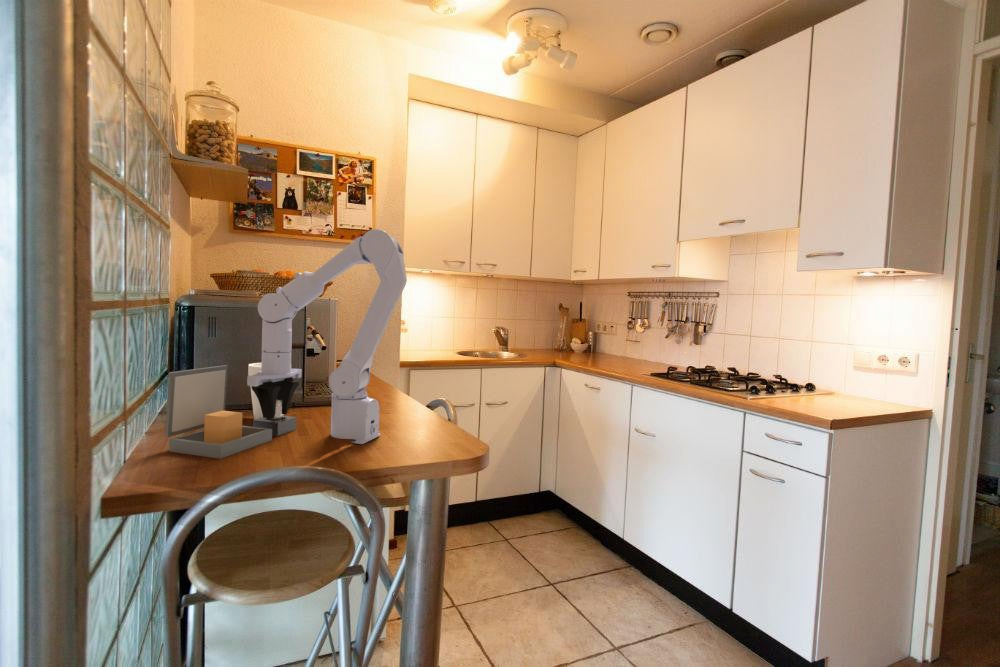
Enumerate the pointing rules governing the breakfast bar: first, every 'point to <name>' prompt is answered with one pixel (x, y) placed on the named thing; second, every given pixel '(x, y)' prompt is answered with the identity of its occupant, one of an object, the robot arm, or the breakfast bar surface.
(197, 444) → the grey shallow rectangular tray
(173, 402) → the lid
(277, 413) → the white upright cylinder
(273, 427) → the grey square socket
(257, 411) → the foam cup
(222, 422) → the block
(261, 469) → the breakfast bar surface
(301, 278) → the robot arm
